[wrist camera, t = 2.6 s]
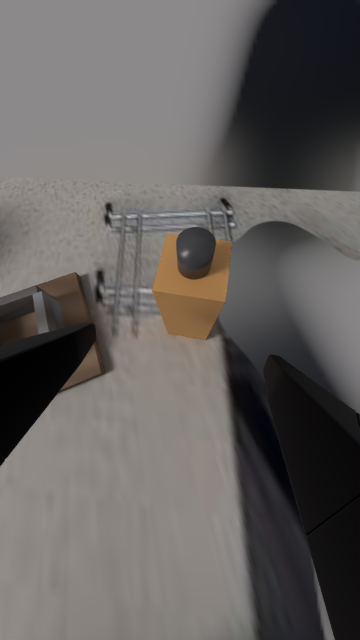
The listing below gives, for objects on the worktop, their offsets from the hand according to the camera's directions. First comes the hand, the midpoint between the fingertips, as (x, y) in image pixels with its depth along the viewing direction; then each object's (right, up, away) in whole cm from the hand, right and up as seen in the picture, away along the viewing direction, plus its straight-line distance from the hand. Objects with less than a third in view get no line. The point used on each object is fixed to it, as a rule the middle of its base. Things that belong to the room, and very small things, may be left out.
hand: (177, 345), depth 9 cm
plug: (+1, +1, +13) cm, 13 cm away
